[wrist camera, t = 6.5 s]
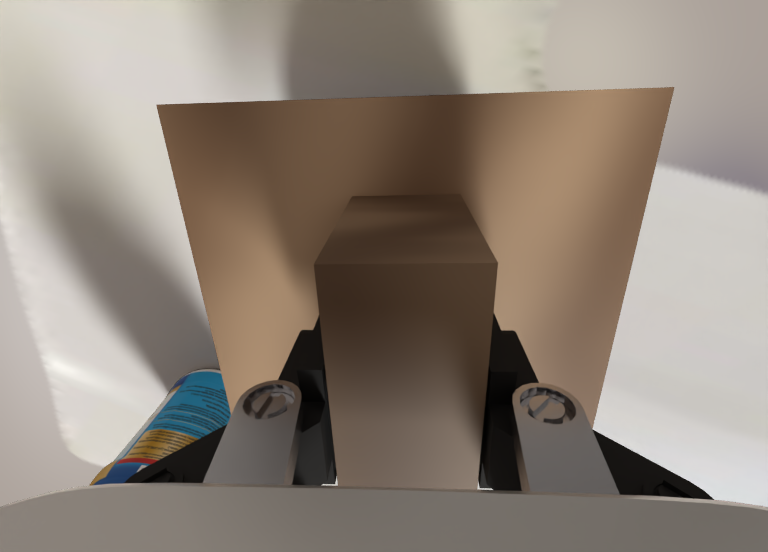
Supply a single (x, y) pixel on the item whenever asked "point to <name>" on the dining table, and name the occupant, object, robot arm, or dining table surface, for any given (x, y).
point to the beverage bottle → (173, 424)
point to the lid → (416, 252)
